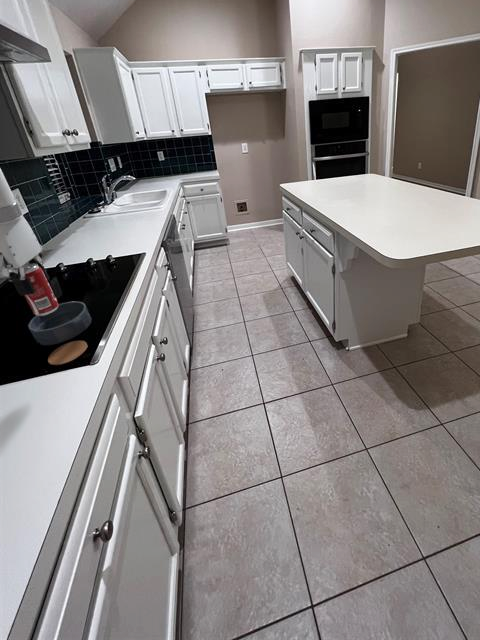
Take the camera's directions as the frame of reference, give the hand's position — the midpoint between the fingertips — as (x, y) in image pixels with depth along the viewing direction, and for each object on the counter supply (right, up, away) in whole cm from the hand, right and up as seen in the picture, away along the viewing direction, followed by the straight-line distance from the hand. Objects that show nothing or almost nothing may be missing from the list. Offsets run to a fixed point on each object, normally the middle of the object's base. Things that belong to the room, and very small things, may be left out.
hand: (35, 286), depth 75 cm
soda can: (+1, -6, +3) cm, 7 cm away
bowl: (-5, -15, +18) cm, 24 cm away
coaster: (+2, -19, +8) cm, 20 cm away
